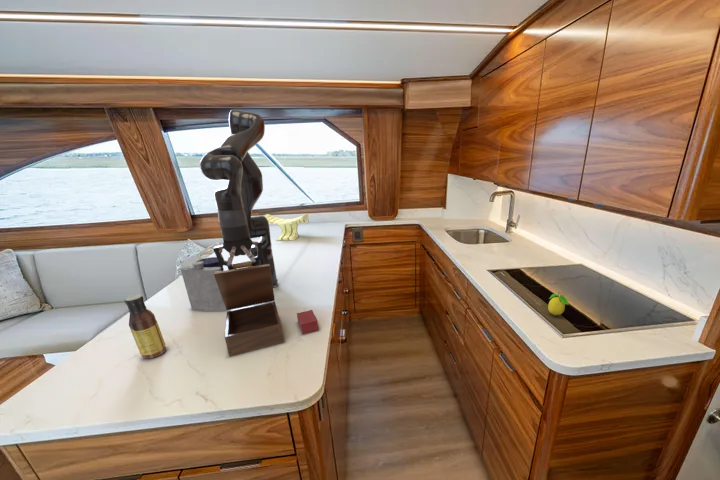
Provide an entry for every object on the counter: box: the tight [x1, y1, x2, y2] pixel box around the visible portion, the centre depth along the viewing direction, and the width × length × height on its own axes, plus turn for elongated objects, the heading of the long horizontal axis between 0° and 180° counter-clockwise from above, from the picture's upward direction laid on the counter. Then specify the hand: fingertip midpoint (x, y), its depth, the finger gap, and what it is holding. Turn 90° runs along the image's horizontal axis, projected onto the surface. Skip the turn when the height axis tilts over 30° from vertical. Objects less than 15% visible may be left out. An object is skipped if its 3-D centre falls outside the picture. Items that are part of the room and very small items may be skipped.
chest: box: [224, 300, 285, 357], centre depth 101 cm, size 19×16×7 cm
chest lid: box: [214, 260, 276, 311], centre depth 101 cm, size 20×16×5 cm
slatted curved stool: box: [263, 212, 310, 241], centre depth 227 cm, size 30×16×18 cm, turn 93°
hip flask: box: [180, 261, 227, 312], centre depth 117 cm, size 16×4×20 cm, turn 84°
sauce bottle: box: [123, 293, 167, 360], centre depth 89 cm, size 6×6×20 cm
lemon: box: [547, 292, 569, 317], centre depth 110 cm, size 7×6×10 cm
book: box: [296, 309, 319, 335], centre depth 106 cm, size 9×6×4 cm, turn 27°
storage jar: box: [196, 256, 225, 271], centre depth 134 cm, size 10×10×15 cm
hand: (244, 274), depth 97 cm, fingers closed on chest lid, 5 cm apart
